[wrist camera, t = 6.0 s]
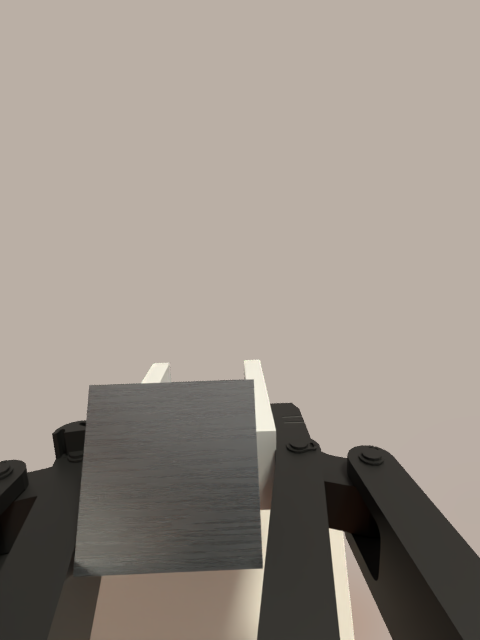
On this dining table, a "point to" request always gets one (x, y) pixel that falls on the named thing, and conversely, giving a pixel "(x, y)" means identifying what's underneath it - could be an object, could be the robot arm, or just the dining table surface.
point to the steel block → (169, 479)
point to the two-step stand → (201, 601)
